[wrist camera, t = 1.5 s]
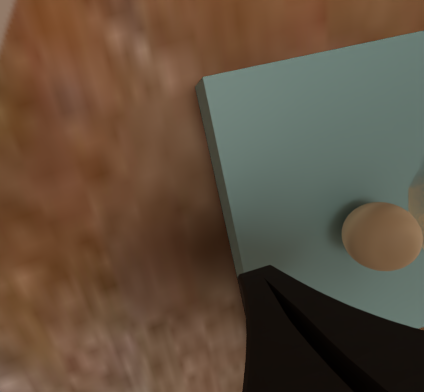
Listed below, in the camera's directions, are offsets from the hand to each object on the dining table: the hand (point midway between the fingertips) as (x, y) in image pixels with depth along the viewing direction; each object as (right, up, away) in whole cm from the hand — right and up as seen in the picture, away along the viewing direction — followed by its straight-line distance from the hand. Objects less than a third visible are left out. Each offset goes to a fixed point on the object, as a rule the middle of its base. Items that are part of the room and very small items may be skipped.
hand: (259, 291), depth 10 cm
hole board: (+8, +4, +6) cm, 10 cm away
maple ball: (+6, +2, +2) cm, 6 cm away
